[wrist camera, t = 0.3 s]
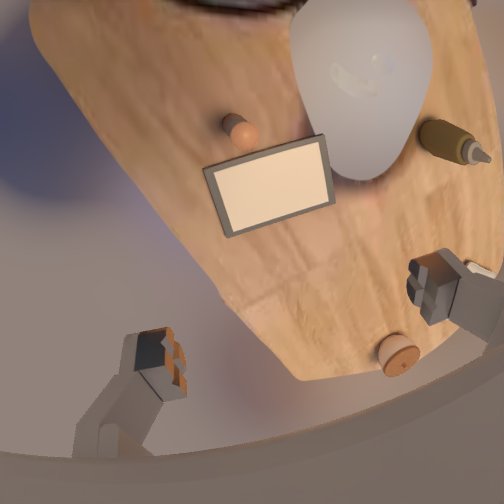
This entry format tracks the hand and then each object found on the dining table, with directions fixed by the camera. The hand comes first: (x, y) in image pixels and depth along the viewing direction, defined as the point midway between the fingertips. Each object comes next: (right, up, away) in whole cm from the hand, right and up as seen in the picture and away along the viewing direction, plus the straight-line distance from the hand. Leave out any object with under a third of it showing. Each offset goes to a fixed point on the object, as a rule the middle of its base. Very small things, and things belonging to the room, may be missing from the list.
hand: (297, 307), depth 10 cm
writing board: (+2, +14, +48) cm, 50 cm away
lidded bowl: (+41, -26, +81) cm, 95 cm away
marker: (-5, +23, +41) cm, 47 cm away
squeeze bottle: (+36, +27, +48) cm, 66 cm away
